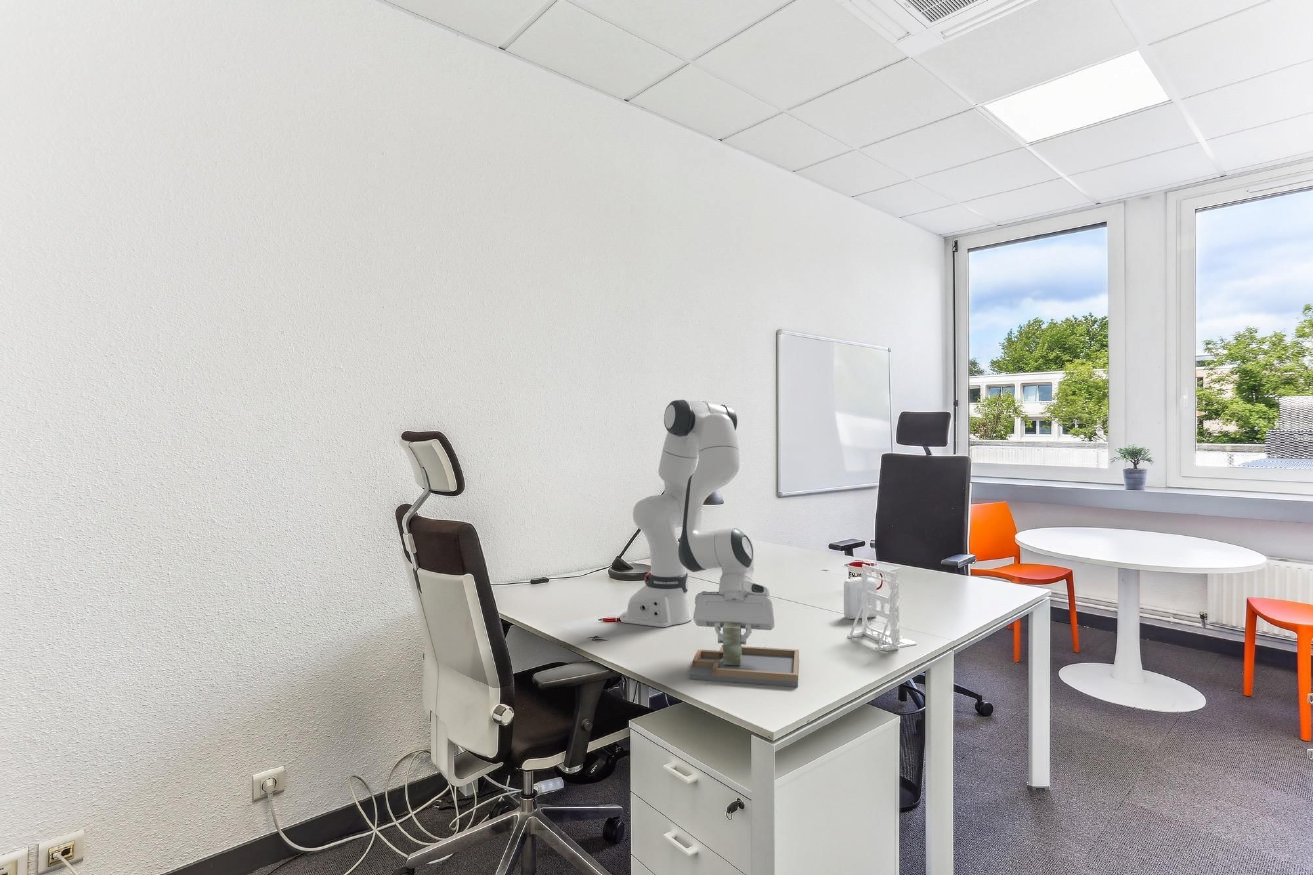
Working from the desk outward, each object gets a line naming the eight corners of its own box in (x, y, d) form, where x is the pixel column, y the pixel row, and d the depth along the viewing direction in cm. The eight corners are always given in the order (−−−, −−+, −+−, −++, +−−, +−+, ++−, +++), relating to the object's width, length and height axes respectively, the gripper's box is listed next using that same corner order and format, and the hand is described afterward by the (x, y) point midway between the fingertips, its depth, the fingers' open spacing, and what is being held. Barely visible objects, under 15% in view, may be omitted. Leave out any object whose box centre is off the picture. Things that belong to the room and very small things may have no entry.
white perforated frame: (921, 645, 168) (920, 570, 168) (879, 652, 163) (878, 575, 163) (884, 630, 181) (883, 561, 181) (844, 636, 176) (843, 565, 176)
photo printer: (871, 613, 198) (870, 574, 198) (879, 617, 194) (878, 577, 194) (841, 616, 195) (841, 576, 195) (849, 620, 191) (848, 579, 191)
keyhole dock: (689, 678, 148) (688, 667, 148) (701, 654, 164) (700, 643, 164) (797, 686, 142) (797, 674, 142) (799, 660, 158) (798, 649, 158)
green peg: (723, 664, 153) (722, 627, 152) (725, 658, 156) (724, 622, 156) (739, 665, 152) (739, 628, 152) (741, 659, 156) (741, 623, 155)
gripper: (694, 584, 163) (688, 634, 154) (774, 587, 158) (773, 639, 149) (697, 597, 167) (691, 646, 158) (775, 600, 163) (774, 651, 153)
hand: (731, 642), depth 153 cm, fingers closed on green peg, 4 cm apart
